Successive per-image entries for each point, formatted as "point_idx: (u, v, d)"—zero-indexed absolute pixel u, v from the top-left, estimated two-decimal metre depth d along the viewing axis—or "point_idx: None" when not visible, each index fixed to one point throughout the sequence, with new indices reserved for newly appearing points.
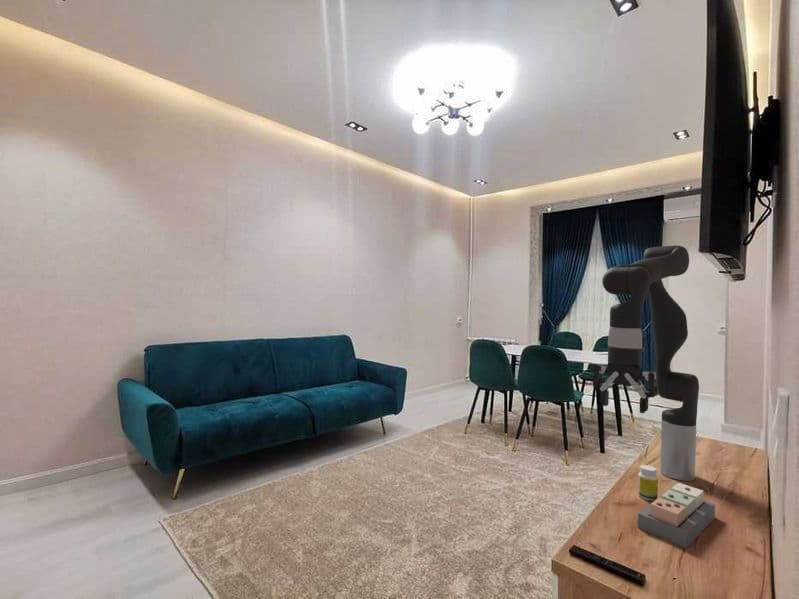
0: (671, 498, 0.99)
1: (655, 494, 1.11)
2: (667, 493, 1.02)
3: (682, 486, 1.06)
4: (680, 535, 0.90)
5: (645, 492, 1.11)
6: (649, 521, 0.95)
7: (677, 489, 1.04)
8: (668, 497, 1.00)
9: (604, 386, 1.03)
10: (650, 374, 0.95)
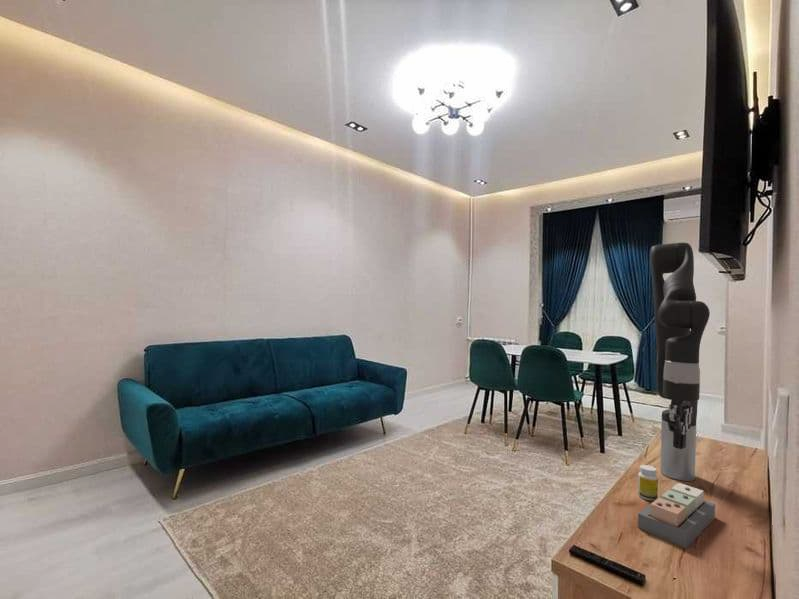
0: (671, 498, 0.99)
1: (655, 494, 1.11)
2: (667, 493, 1.02)
3: (682, 486, 1.06)
4: (680, 535, 0.90)
5: (645, 492, 1.11)
6: (649, 521, 0.95)
7: (677, 489, 1.04)
8: (668, 497, 1.00)
9: (684, 429, 0.98)
10: (693, 409, 1.02)
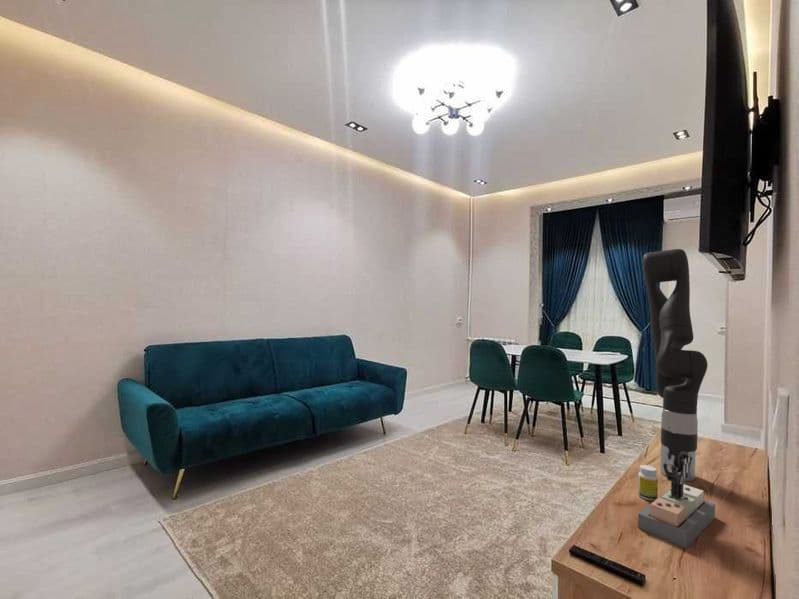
0: (671, 499, 0.99)
1: (655, 494, 1.11)
2: (667, 494, 1.02)
3: None
4: (680, 535, 0.90)
5: (645, 492, 1.11)
6: (649, 521, 0.95)
7: None
8: (668, 498, 1.00)
9: (681, 478, 0.98)
10: (691, 458, 1.02)
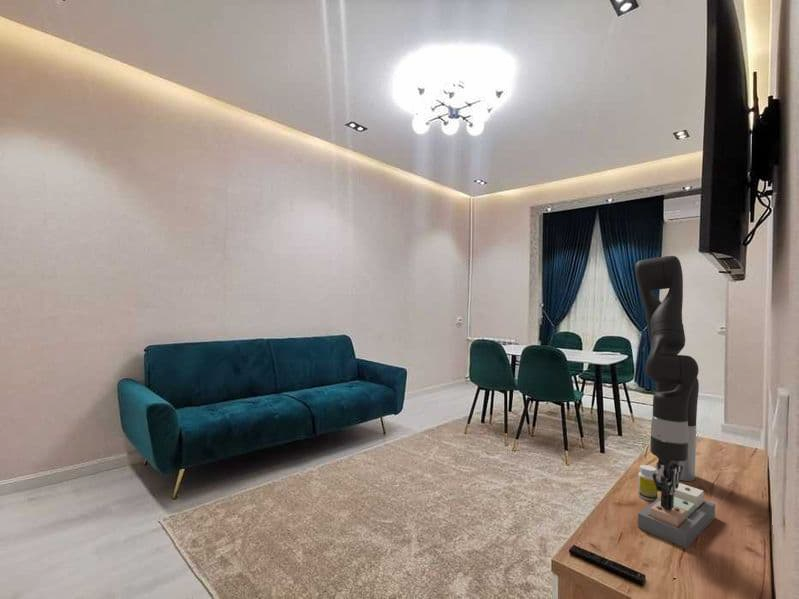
0: None
1: (655, 494, 1.11)
2: None
3: (682, 486, 1.06)
4: (680, 535, 0.90)
5: (645, 492, 1.11)
6: (649, 521, 0.95)
7: (677, 489, 1.04)
8: None
9: (672, 489, 0.94)
10: (682, 467, 0.98)
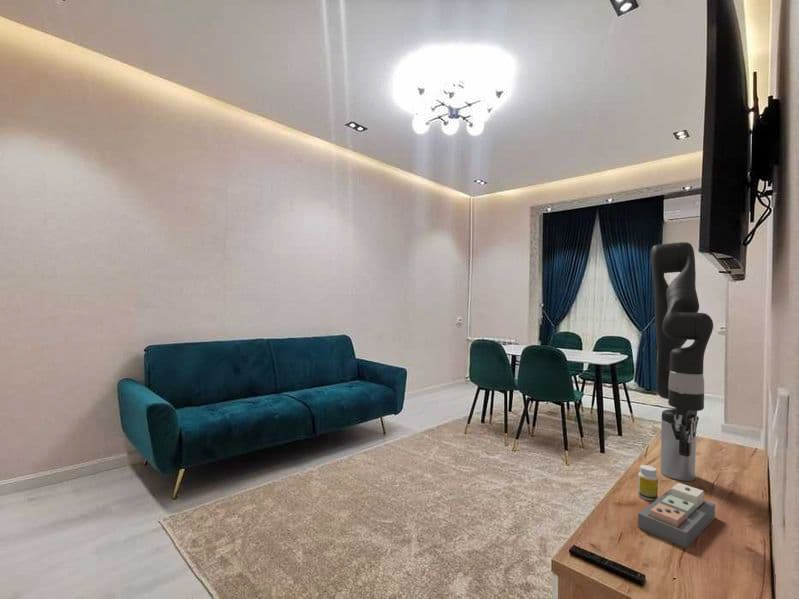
0: (671, 503, 0.99)
1: (655, 494, 1.11)
2: (667, 498, 1.02)
3: (682, 486, 1.06)
4: (680, 535, 0.90)
5: (645, 492, 1.11)
6: (649, 521, 0.95)
7: (677, 489, 1.04)
8: (668, 502, 1.00)
9: (689, 437, 1.01)
10: (698, 418, 1.05)
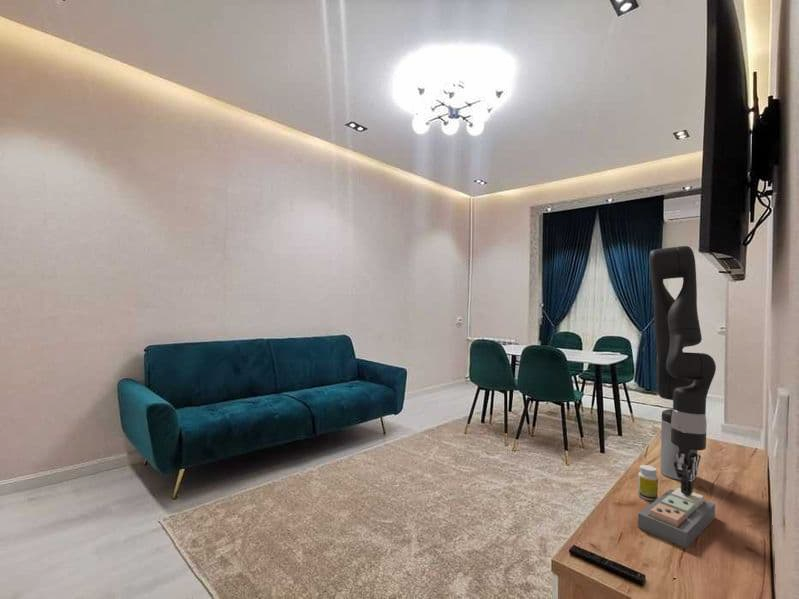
0: (671, 503, 0.99)
1: (655, 494, 1.11)
2: (667, 498, 1.02)
3: None
4: (680, 535, 0.90)
5: (645, 492, 1.11)
6: (649, 521, 0.95)
7: (677, 494, 1.04)
8: (668, 502, 1.00)
9: (691, 476, 1.03)
10: (700, 456, 1.07)
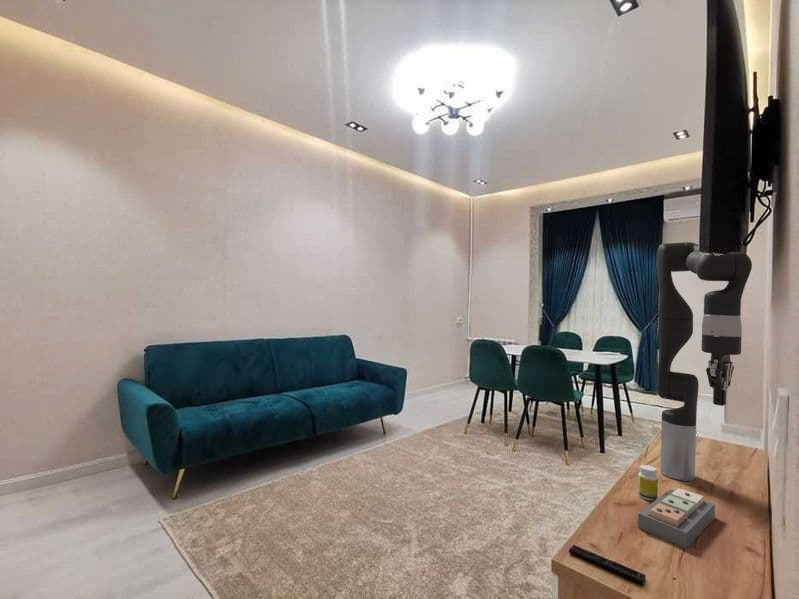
0: (671, 503, 0.99)
1: (655, 494, 1.11)
2: (667, 498, 1.02)
3: (682, 492, 1.06)
4: (680, 535, 0.90)
5: (645, 492, 1.11)
6: (649, 521, 0.95)
7: (677, 494, 1.04)
8: (668, 502, 1.00)
9: (725, 384, 0.95)
10: (733, 367, 0.99)
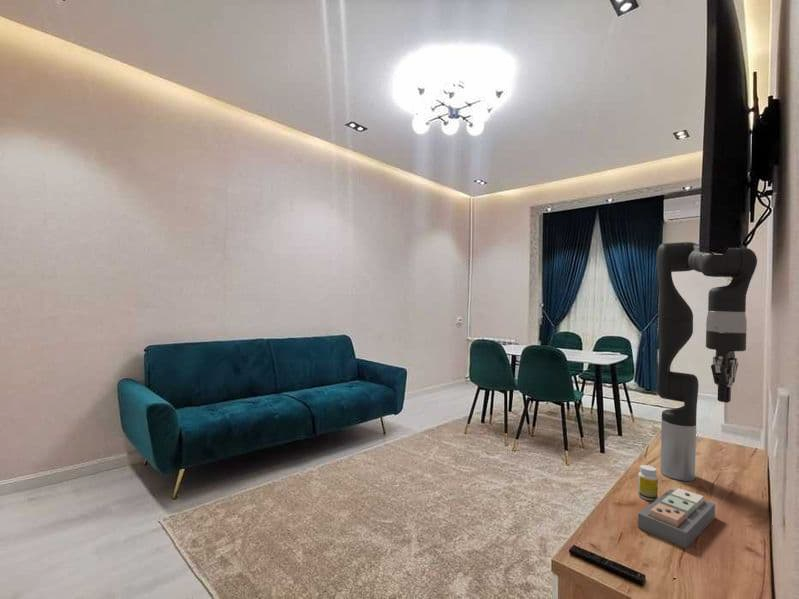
0: (671, 503, 0.99)
1: (655, 494, 1.11)
2: (667, 498, 1.02)
3: (682, 492, 1.06)
4: (680, 535, 0.90)
5: (645, 492, 1.11)
6: (649, 521, 0.95)
7: (677, 494, 1.04)
8: (668, 502, 1.00)
9: (729, 381, 0.94)
10: (737, 363, 0.98)
